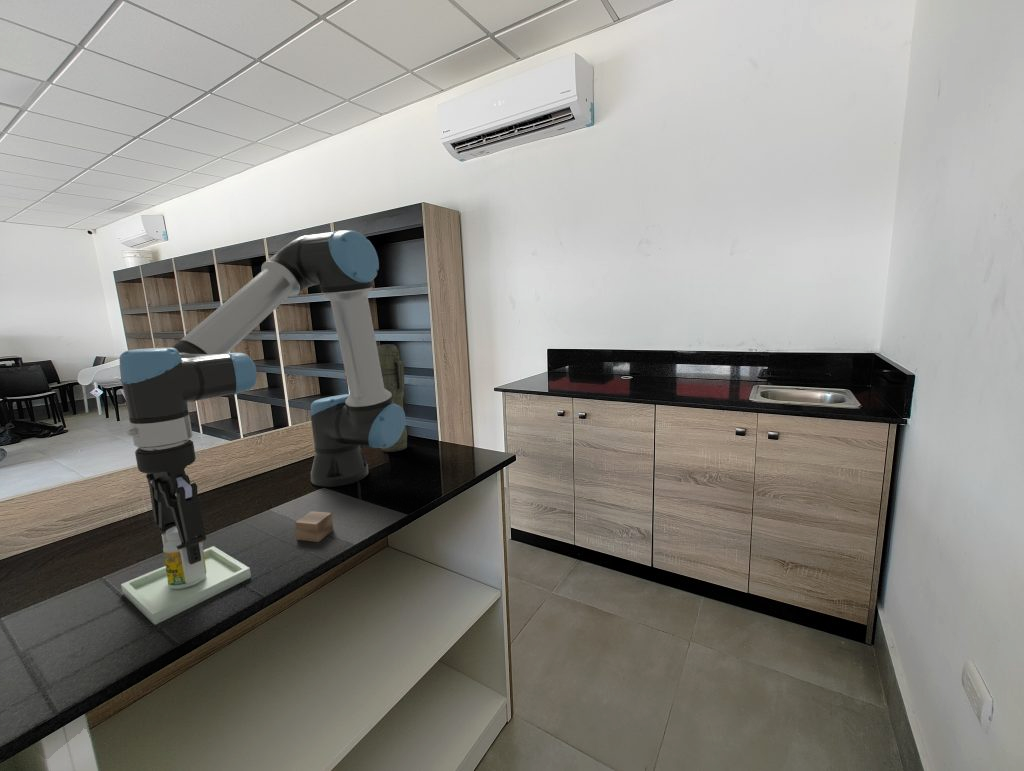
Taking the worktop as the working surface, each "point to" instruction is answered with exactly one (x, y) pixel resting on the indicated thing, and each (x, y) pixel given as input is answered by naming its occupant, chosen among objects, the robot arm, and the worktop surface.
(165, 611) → the tray
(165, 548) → the supplement bottle
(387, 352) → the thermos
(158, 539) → the worktop surface
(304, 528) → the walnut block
